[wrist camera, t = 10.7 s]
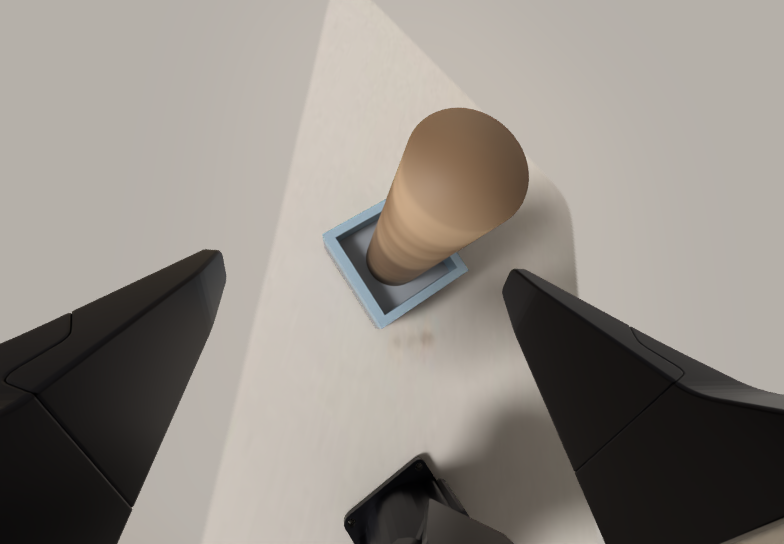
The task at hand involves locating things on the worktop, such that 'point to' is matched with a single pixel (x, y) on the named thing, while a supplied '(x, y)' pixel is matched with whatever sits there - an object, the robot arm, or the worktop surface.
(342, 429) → the worktop surface
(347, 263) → the light blue open box
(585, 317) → the robot arm
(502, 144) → the pillar
